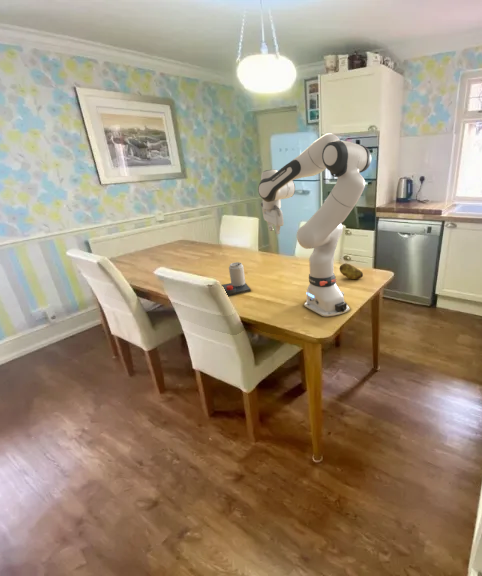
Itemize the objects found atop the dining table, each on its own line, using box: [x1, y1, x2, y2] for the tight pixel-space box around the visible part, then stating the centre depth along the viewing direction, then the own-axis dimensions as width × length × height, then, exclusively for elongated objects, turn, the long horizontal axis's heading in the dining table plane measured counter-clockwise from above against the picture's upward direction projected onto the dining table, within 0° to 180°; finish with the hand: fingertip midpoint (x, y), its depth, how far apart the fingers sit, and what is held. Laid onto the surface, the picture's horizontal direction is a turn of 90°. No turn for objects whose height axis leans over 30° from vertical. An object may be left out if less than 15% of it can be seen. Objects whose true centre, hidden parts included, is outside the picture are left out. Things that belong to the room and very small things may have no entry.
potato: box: [339, 263, 364, 280], centre depth 179 cm, size 8×13×8 cm, turn 50°
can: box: [228, 262, 246, 287], centre depth 169 cm, size 8×8×12 cm
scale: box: [221, 282, 251, 297], centre depth 169 cm, size 15×13×3 cm
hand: (274, 232), depth 163 cm, fingers open, 8 cm apart
